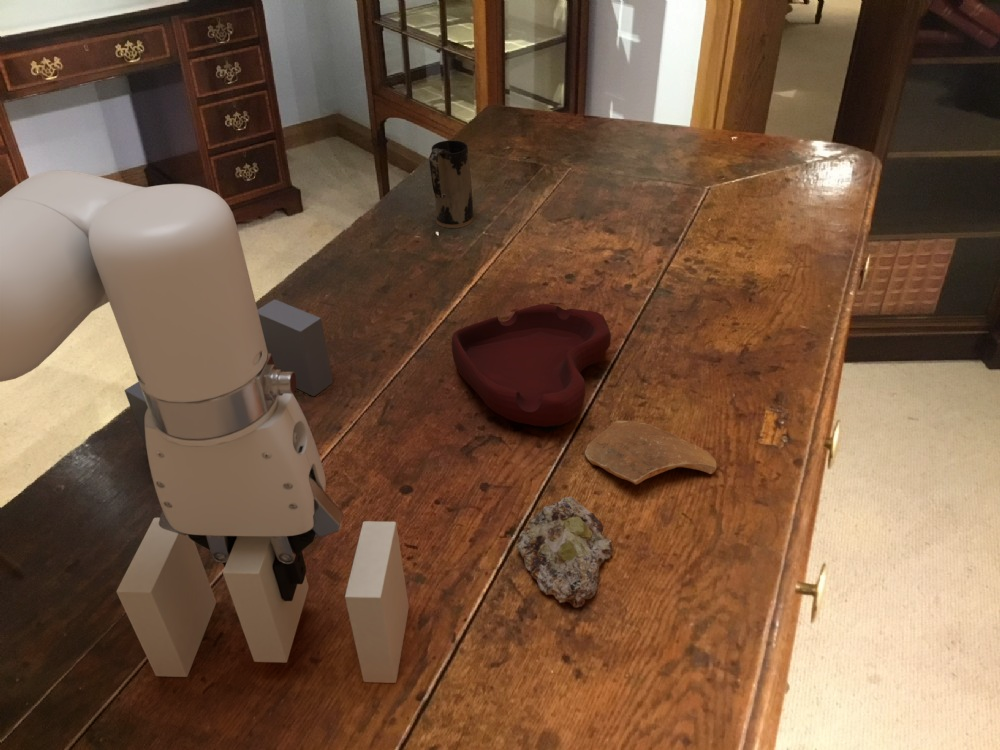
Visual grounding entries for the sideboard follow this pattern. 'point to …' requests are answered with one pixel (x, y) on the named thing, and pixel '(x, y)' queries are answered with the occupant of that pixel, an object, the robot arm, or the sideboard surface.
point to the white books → (190, 601)
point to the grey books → (276, 353)
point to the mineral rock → (565, 551)
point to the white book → (262, 599)
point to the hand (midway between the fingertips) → (270, 583)
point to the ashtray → (532, 362)
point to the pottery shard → (644, 452)
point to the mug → (451, 183)
